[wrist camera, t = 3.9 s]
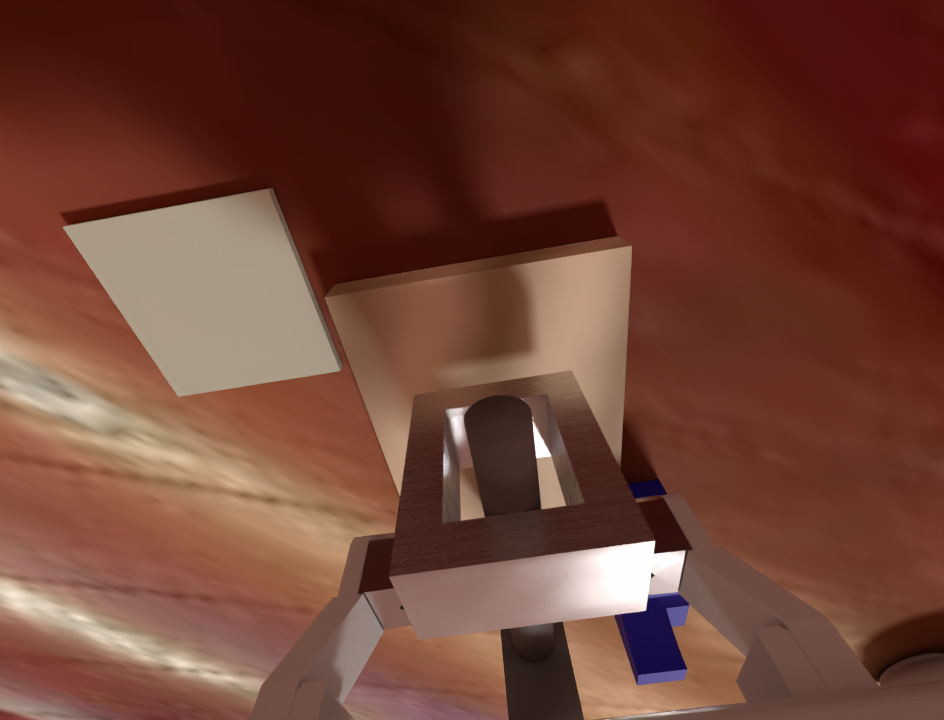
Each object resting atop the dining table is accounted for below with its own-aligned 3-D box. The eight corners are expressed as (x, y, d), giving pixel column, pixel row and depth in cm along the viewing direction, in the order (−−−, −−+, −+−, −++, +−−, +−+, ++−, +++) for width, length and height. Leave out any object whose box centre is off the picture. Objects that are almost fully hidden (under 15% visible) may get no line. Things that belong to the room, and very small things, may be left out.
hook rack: (617, 236, 16) (908, 432, 6) (609, 495, 24) (723, 767, 14) (334, 284, 17) (142, 540, 6) (419, 522, 25) (395, 801, 15)
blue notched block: (664, 582, 30) (708, 676, 25) (605, 590, 30) (637, 685, 25) (682, 473, 24) (745, 569, 19) (608, 484, 24) (650, 581, 19)
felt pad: (272, 187, 15) (267, 189, 14) (342, 366, 19) (340, 370, 18) (71, 224, 15) (62, 226, 15) (183, 391, 19) (178, 396, 19)
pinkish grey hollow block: (571, 370, 15) (655, 540, 9) (573, 430, 16) (646, 610, 10) (414, 394, 15) (389, 577, 9) (430, 452, 16) (418, 640, 10)
